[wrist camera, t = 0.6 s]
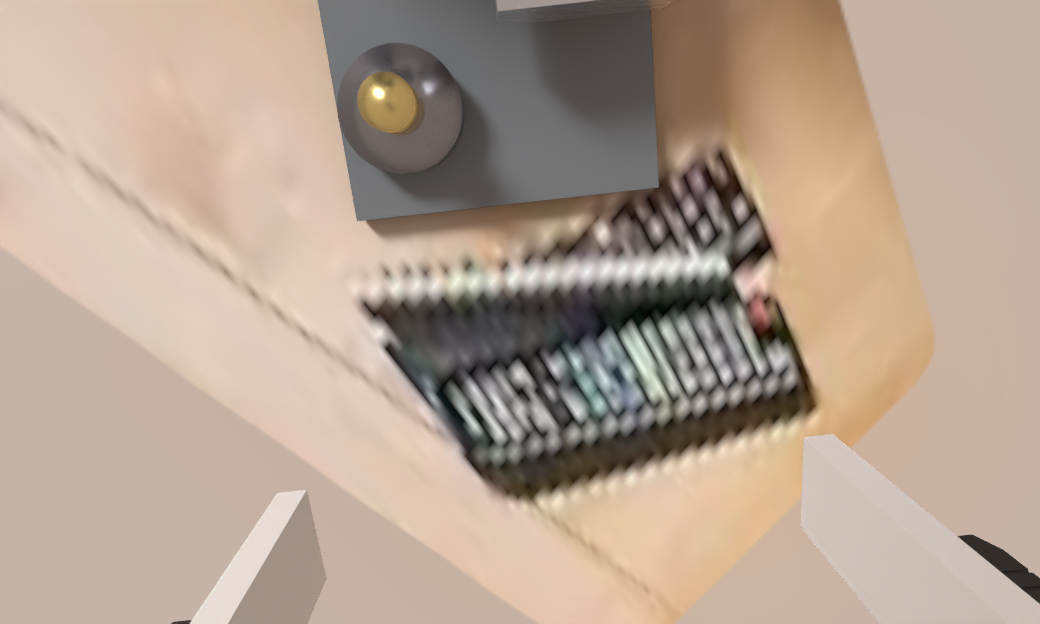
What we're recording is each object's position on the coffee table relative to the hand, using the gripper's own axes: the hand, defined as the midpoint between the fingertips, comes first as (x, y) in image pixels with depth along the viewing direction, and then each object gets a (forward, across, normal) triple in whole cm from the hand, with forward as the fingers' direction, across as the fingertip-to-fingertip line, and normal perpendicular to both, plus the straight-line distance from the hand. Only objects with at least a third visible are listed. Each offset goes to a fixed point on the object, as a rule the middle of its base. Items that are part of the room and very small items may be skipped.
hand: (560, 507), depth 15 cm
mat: (+24, 0, +16) cm, 29 cm away
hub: (+23, -6, +12) cm, 27 cm away
